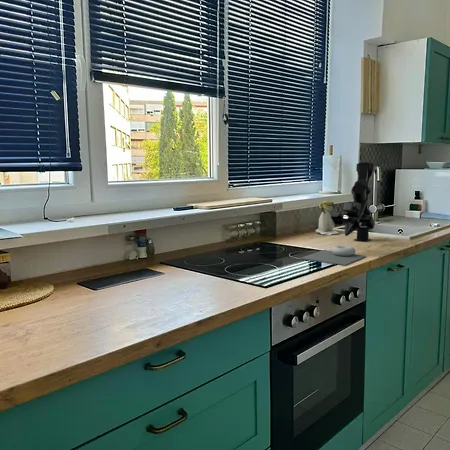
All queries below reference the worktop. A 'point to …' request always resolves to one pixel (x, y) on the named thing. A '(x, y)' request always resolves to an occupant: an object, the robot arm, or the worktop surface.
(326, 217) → the white figurine
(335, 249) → the donut
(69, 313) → the worktop surface
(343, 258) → the mat
